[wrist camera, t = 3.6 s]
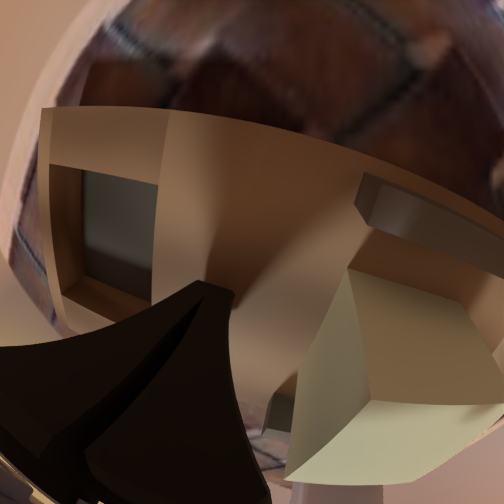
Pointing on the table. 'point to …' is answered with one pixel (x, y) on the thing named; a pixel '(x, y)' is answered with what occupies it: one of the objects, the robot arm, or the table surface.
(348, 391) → the sage block
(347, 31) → the table surface
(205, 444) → the robot arm
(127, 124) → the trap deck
